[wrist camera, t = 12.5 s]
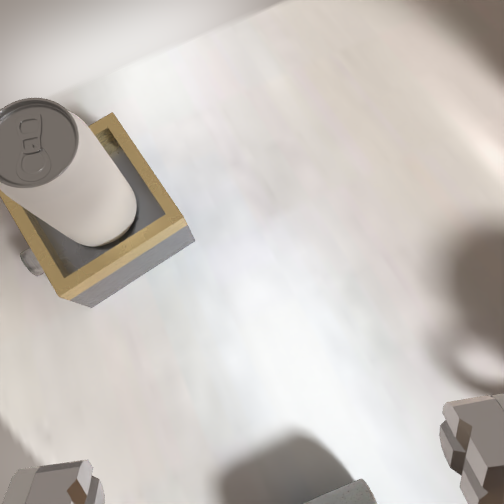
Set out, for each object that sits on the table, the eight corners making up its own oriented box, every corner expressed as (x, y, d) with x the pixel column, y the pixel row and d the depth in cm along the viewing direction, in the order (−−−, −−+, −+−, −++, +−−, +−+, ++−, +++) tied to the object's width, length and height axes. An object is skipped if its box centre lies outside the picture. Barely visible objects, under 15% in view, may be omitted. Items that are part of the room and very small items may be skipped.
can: (64, 255, 37) (-25, 205, 25) (55, 182, 38) (-32, 102, 26) (143, 239, 37) (92, 182, 25) (132, 167, 38) (78, 81, 27)
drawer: (134, 150, 44) (112, 112, 37) (195, 240, 42) (183, 217, 35) (15, 222, 42) (-31, 196, 36) (72, 320, 40) (34, 311, 34)
